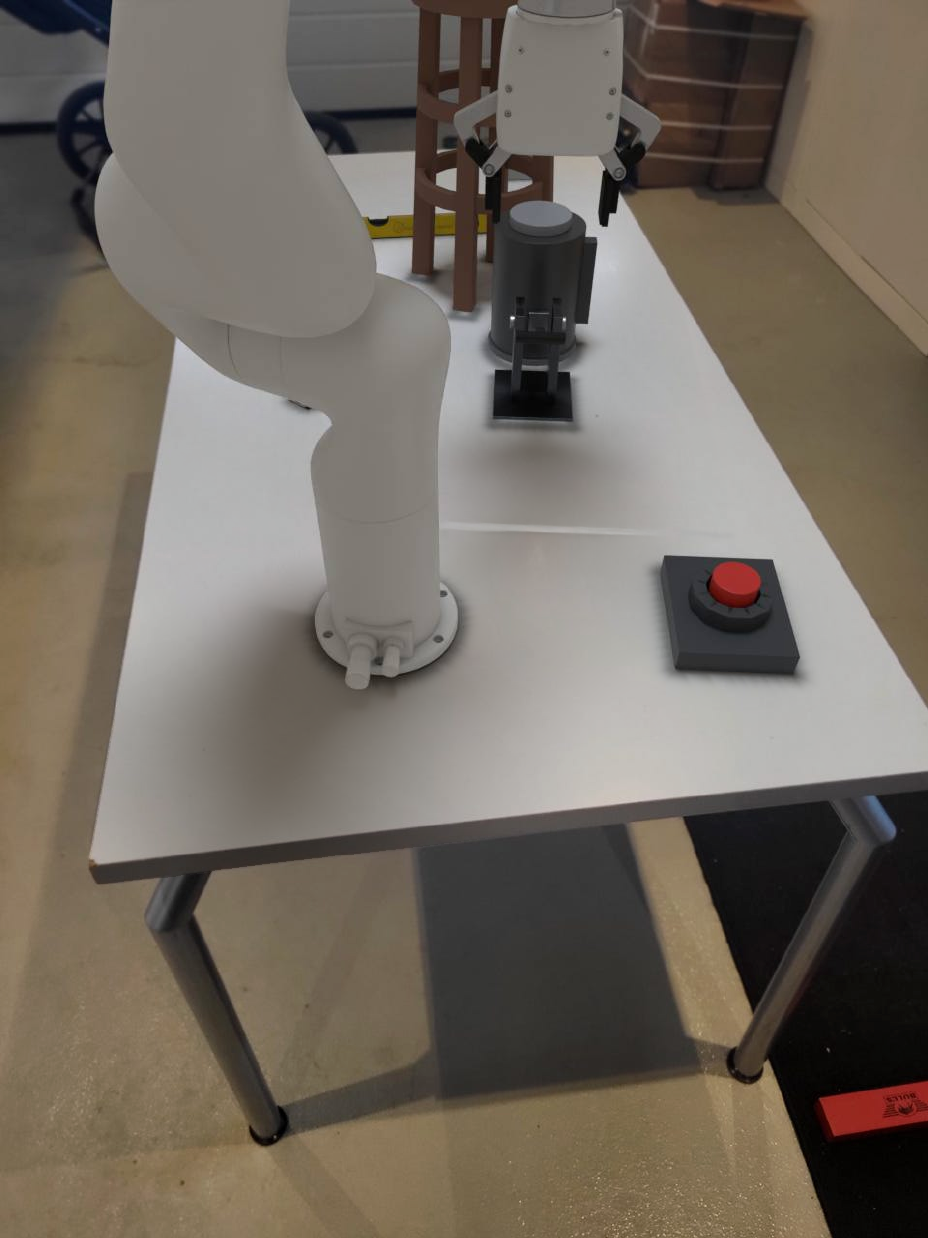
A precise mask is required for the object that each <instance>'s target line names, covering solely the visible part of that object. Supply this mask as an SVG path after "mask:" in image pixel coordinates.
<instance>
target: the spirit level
mask: <svg viewBox="0 0 928 1238" xmlns="http://www.w3.org/2000/svg"><path fill="white" fill-rule="evenodd" d="M362 217H363V219H364V221H365V224H366V227H367V229H368V232H369V235H370V237H371V239H378V238H380V239H381V238H397V237H398V238H399V237H413V214H397V215H396V214H395V215H394V214H393V215H386V218H370V216H362ZM486 229H487V214H486V215H484V214H478V234H479V233H480V234H481V233H486ZM437 235H455V212H437V213H436V212H435V236H437Z"/></svg>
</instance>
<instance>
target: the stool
mask: <svg viewBox="0 0 928 1238" xmlns="http://www.w3.org/2000/svg"><path fill="white" fill-rule="evenodd" d="M411 2H412V4H413V5H415V6H416V7H419V16H418V17H419V19H418V20H419V21H418V24H419V25H418V52H417V83H416V85H417V86H416V114H415V115H416V117H415V119H416V120H415V146H414V147H415V148H414V149H415V152H414V154H415V155H414V180H413V181H414V182H413V183H414V184H413V214H412V215H413V236H412V243H411V245H412V248H411V274H414V275H415V274H416V275H421V276H422V275H423V276H429V275H430V274H431V272H432V271H433V270H434V269H435V243H436V241H435V239H436V238H435V237H436V235H435V213H436V208H439V209H442V210H444V211H449V212H453V213H455V234H454V249H453V250H454V252H453V253H454V256H453V289H452V291H453V292H452V310H453V311H457V312H464V313H472V312H473V310H474V308H475V306H476V305H477V282H478V281H477V279H478V277H477V275H478V241H479V240H478V239H479V238H478V237H479V233H478V214H484V215H486V214H487V229H486V232H485V233H486V234H485V262H492V263H493V251H494V224H492V210H485V193H480V167H479V166H478V165H477V164H476V163H475V162H474V160H473V159H472V158H471V157H470V156H469V155H468V154H467V152H466V150H465V147H464V145H463V142H462V141H461V139H460V137H459V135H458V134H457V136H456V137H457V138H456V139H457V140H456V141H457V142H456V143H457V145H456V148H455V149H450V150H446V151H445V150H444V151H441V152H438V135H439V134H438V133H439V122H442V123H444V124H451V125H454V123H453V122H454V115H455V113H456V112H458V111H459V110H461V109H463V108H465V107H467V106H469V105H470V104H472V103H474V102H476V101H478V100H480V99H481V98H482V87H484V88H485V87H487V88H488V87H489V94H491V93H492V92H494V91H496V90H498V78H499V65H500V54H501V45H502V38H503V31H504V25H505V20H506V16H507V11H508V8H509V7H511V6H515V5H517V0H411ZM442 15H444V16H451V17H458V18H460V26H459V28H460V30H459V31H460V32H459V66H458V68H456V69H455V68H454V69H449V70H443V71H440V63H441V32H442V31H441V30H442V29H441V28H442V27H441V26H442ZM484 19H490V21H491V23H490V24H491V25H490V59H489V60H490V61H489V62H490V64H489V65H490V66H489V67H483V34H484V32H483V31H484V29H483V28H484ZM455 89H458V99H457V100H458V102H457V103H455V102H451V101H447V100H443V99H441V98H440V93H443V92H446V91H449V90H455ZM481 128H488V144H487V147H488V148H490V146H491V145H492V144H493V143H494V142H495V140H496V139H497V131H496V113H495V114H493V115H491V116H489V117H487V118H485V119H484V120H482V121H480V122H478V123H476V124H475V125H474V129H475V132H476V134H477V136H478V137H479V138H480V139H481ZM500 168H502V186H501V212H500V214H501V213H503V212H505V211H507V210H510V209H512V208H513V207H514V206H516V205H518V204H520V203H524V202H529V201H549V202H554V177H555V176H554V175H555V156H541V155H533V157H531V156H528V155H518V154H511V155H510V157H509V158H508V159H507V160H506V161H505V162H504V164H503V165H502V166H501V167H500ZM453 169H456V175H455V176H456V177H455V178H456V179H455V182H456V183H455V190H453V189H452V190H451V189H448V188H446V187H443V186H440V185H437V174H440V173H442V172H445V171H448V170H453ZM508 169H511V170H514V171H517V172H520V173H523V174H525V175H527V176H528V177H530V178H532V179H531V180H532V181H531V184H528V185H526V186H524V187H522V188H520V189H515V190H511V191H509V180H508Z"/></svg>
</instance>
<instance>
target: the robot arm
mask: <svg viewBox="0 0 928 1238" xmlns="http://www.w3.org/2000/svg"><path fill="white" fill-rule="evenodd" d="M620 1H621V0H517V5H515V6H511V7H509V8H508V11H507V16H506V20H505V25H504V31H503V38H502V45H501V54H500V65H499V78H498V90H496V91H494V92H492V93H491V94H490V93H488V94H486V95H485V96H483V97H481V99H480V100H478V101H476V102H474V103H472V104H470V105H469V106H467V107H465V108H463V109H461V110H459V111H458V112H456V113H455V115H454V122H453V123H454V124H453V126H454V128H455V130H456V133H457V136H458V135H459V137H460V139H461V141H462V142H463V145H464V147H465V150H466V152H467V154H468V155H469V156H470V157H471V158H472V159H473V160H474V162H475V163H476V164H477V165H478V166H479V169H481V172H482V174H483V175H484V176H485V179H484V181H485V182H484V183H485V184H484V185H485V186H484V194H485V210H492V224H498V222H500V212H501V186H502V168H500V167H501V166H502V165H503V164H504V162H505V161H506V160H507V159H508V158H509V157H510V155H511V154H518V155H541V156H554V157H598V158H599V159H600V161H601V162H602V164H603V165H604V169H603V170H602V173H601V174H602V175H601V182H600V183H601V184H600V192H599V200H598V209H597V215H598V223H599V226H601V227H602V228H608V227H609V221H610V215H611V214H612V215H613V214H614V215H616V214H617V213H618V212H617V211H618V206H619V205H618V204H619V197H620V189H621V181H622V180H623V179H625V177H626V176H627V175H626V174H627V173H628V172H629V171H630V170H632V168H634V167H635V166H636V165H637V164H638V163H640V161H641V160H643V159H644V157H645V156H646V153H647V151H648V150H649V148H650V147H651V145H652V144H653V142H654V141H655V139H656V138H657V137H658V135H659V133H660V131H662V130H661V129H662V123H661V120H660V117H658V116H657V115H656V114H655V113H653V112H652V111H649V110H648V108H645V107H644V106H642V105H641V104H639V103H637V102H636V101H634V100H633V99H631V98H629V97H628V96H627V95H626V94H624V93H622V91H623V90H622V89H623V75H624V74H623V73H624V55H623V54H624V38H625V37H624V16H623V11H622V10H621V9H619V8H617V2H620ZM290 8H291V0H112V3H111V13H110V27H109V29H110V30H109V39H108V40H109V41H108V42H109V43H108V54H107V64H106V73H105V81H104V90H103V119H104V128H105V133H106V138H107V141H108V143H109V146H110V148H111V150H112V153H111V154H110V156H108V158H107V159H106V161H105V163H104V165H103V167H102V168H101V171H100V174H99V176H98V180H97V184H96V188H95V193H94V194H95V195H94V206H93V207H94V220H95V228H96V234H97V237H98V241H99V245H100V248H101V250H102V253H103V256H104V259H105V260H106V263H107V265H108V266H109V269H110V271H111V272H112V274H113V275H114V277H115V279H116V280H117V281H118V283H119V284H120V285H121V287H122V288H123V289H124V290H125V291H126V292H127V293H128V294H129V296H130V297H131V298H132V299H134V301H135V302H136V303H138V304H139V305H140V306H141V307H142V308H143V309H144V310H145V311H146V312H147V313H148V314H150V315H151V316H152V317H153V318H154V319H155V320H156V321H157V322H159V323H160V324H161V325H162V326H163V327H164V328H165V329H166V330H168V331H169V332H170V333H171V334H172V335H173V336H174V337H175V338H177V339H178V340H179V341H180V342H181V343H182V344H183V345H185V347H187V348H188V349H189V350H191V352H193V353H194V354H195V355H196V356H197V357H198V358H200V359H201V360H202V361H203V362H204V363H206V364H207V365H208V366H210V367H211V368H212V369H214V370H215V371H216V372H218V373H219V374H221V375H223V377H226V378H228V379H230V380H232V381H234V382H236V383H238V384H241V385H243V386H247V387H249V388H251V389H255V390H259V391H261V392H262V391H263V392H266V393H269V394H271V395H275V396H278V397H281V398H283V399H288V400H290V401H291V400H293V401H296V402H298V403H300V404H302V405H305V406H306V407H307V408H311V409H314V410H317V411H318V412H320V413H322V414H324V415H325V416H327V418H329V420H330V424H331V425H330V426H329V427H328V428H327V429H326V430H325V431H324V432H323V434H322V435H321V436H320V438H319V439H318V440H317V442H316V444H315V446H314V448H313V451H312V454H311V459H310V479H311V486H312V492H313V497H314V504H315V512H316V518H317V523H318V532H319V538H320V545H321V551H322V558H323V564H324V572H325V579H326V584H327V585H326V586H327V590H326V592H324V594H323V595H322V596H321V598H320V600H319V602H318V604H317V605H316V610H315V614H314V628H315V633H316V637H317V640H318V642H319V644H320V646H321V648H322V649H323V650H324V652H325V653H326V654H327V656H329V657H330V658H331V659H332V660H334V661H335V662H336V663H337V664H339V665H341V666H343V667H345V668H346V673H345V677H344V682H345V684H346V685H347V687H348V688H351V689H353V690H365V689H366V688H367V687H369V684H370V679H371V675H373V676H384V677H388V678H394V677H397V676H398V675H400V674H406V673H410V672H412V671H416V670H418V669H421V668H422V667H425V666H427V665H429V664H431V663H432V662H434V661H435V660H436V659H438V658H439V657H440V656H442V655H443V654H444V653H445V651H447V649H449V647H450V646H451V644H452V643H453V641H454V639H455V637H456V633H457V630H458V625H459V624H458V623H459V611H458V609H459V608H458V605H457V601H456V598H455V597H454V594H452V592H451V590H450V589H449V588H448V587H447V586H446V585H445V584H444V583H443V582H442V581H441V574H440V573H441V570H440V568H441V566H440V563H441V562H440V513H439V511H440V510H439V509H440V507H439V433H440V432H439V431H440V420H441V419H440V418H441V411H442V404H443V399H444V398H443V397H444V392H445V388H446V381H447V376H448V372H449V367H450V360H451V353H452V335H451V334H452V333H451V327H450V324H449V320H448V319H447V316H446V314H445V312H444V311H443V309H442V308H441V306H440V305H439V304H438V302H437V301H435V300H434V298H433V297H431V296H430V295H429V294H427V293H426V292H425V291H424V290H422V289H421V288H419V287H417V286H415V285H413V284H411V283H409V282H407V281H404V280H402V279H399V278H396V277H393V276H390V275H387V274H384V273H380V272H377V269H378V268H377V266H378V265H377V256H376V251H375V247H374V243H373V240H372V238H371V237H370V235H369V232H368V229H367V227H366V224H365V221H364V219H363V217H364V216H363V215H362V213H361V212H360V209H359V208H358V206H357V204H356V202H355V201H354V199H353V197H352V196H351V194H350V192H349V190H348V189H347V187H346V185H345V184H344V182H343V180H342V178H341V177H340V175H339V173H338V171H337V170H336V168H335V167H334V164H333V162H332V161H331V160H330V158H329V155H328V154H327V153H326V151H325V149H324V147H323V146H322V144H321V142H320V140H319V138H318V137H317V135H316V134H315V132H314V131H313V128H312V126H311V125H310V123H309V122H308V120H307V118H306V116H305V114H304V112H303V110H302V108H301V106H300V104H299V103H298V100H297V99H296V97H295V94H294V92H293V89H292V86H291V83H290V80H289V76H288V75H289V74H288V65H287V37H288V27H289V17H290ZM495 113H496V131H497V139H496V140H495V142H494V143H493V144H492V145H491V146H490V148H488V145H486V144H485V142H484V141H483V140H482V139H481V137H480V138H479V137H478V136H477V134H476V132H475V129H474V125H475V124H476V123H478V122H480V121H482V120H484V119H485V118H487V117H489V116H491V115H493V114H495ZM620 117H621V118H623V119H624V120H625V121H627V122H628V123H630V124H631V125H633V126H635V127H637V128H638V129H639V130H638V131H637V133H636V136H635V137H634V139H632V140H631V141H630V142H629V143H628V144H627V145H626V146H625V147H624V148H623V149H621V150H619V149H618V148H617V146H616V144H617V139H618V132H619V124H620Z"/></svg>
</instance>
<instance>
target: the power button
mask: <svg viewBox="0 0 928 1238" xmlns="http://www.w3.org/2000/svg"><path fill="white" fill-rule="evenodd" d="M760 584H761V580H760V576H759V575H758V573H757V572H756V571H755V570H754V569H753V568H751V567H749V566H748V565H745V564H742V563H738V562H726V563H722V564H720V565H719V566H717V567H716V568H715V570H714V572H713V575H712V578H711V582H710V585H709V591H710V594H711V596H712V597H713V598H714V599H715V600H716V601H717V602H719V603H721V604H724V605H726V606H728V607H733V608H743V607H747V606H749V605H751V604H752V603H753V602H754V601H755V599H756V596H757V593H758V590H759V587H760Z"/></svg>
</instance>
